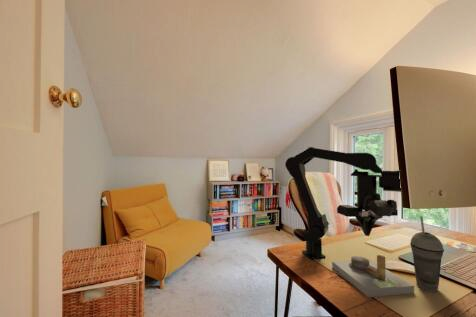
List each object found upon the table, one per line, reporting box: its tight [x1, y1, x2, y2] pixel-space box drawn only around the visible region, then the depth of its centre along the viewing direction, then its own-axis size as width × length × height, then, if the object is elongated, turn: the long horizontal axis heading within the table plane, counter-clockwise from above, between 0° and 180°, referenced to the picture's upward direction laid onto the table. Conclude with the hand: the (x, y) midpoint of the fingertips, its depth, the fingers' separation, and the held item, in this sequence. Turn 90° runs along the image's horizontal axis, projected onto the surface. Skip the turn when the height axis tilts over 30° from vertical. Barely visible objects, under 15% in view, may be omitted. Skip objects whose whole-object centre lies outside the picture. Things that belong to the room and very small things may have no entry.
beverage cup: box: [409, 216, 445, 293], centre depth 60 cm, size 7×7×20 cm
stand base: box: [331, 258, 415, 298], centre depth 64 cm, size 16×14×3 cm
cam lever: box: [350, 254, 386, 280], centre depth 64 cm, size 10×5×6 cm, turn 18°
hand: (366, 235), depth 70 cm, fingers closed
